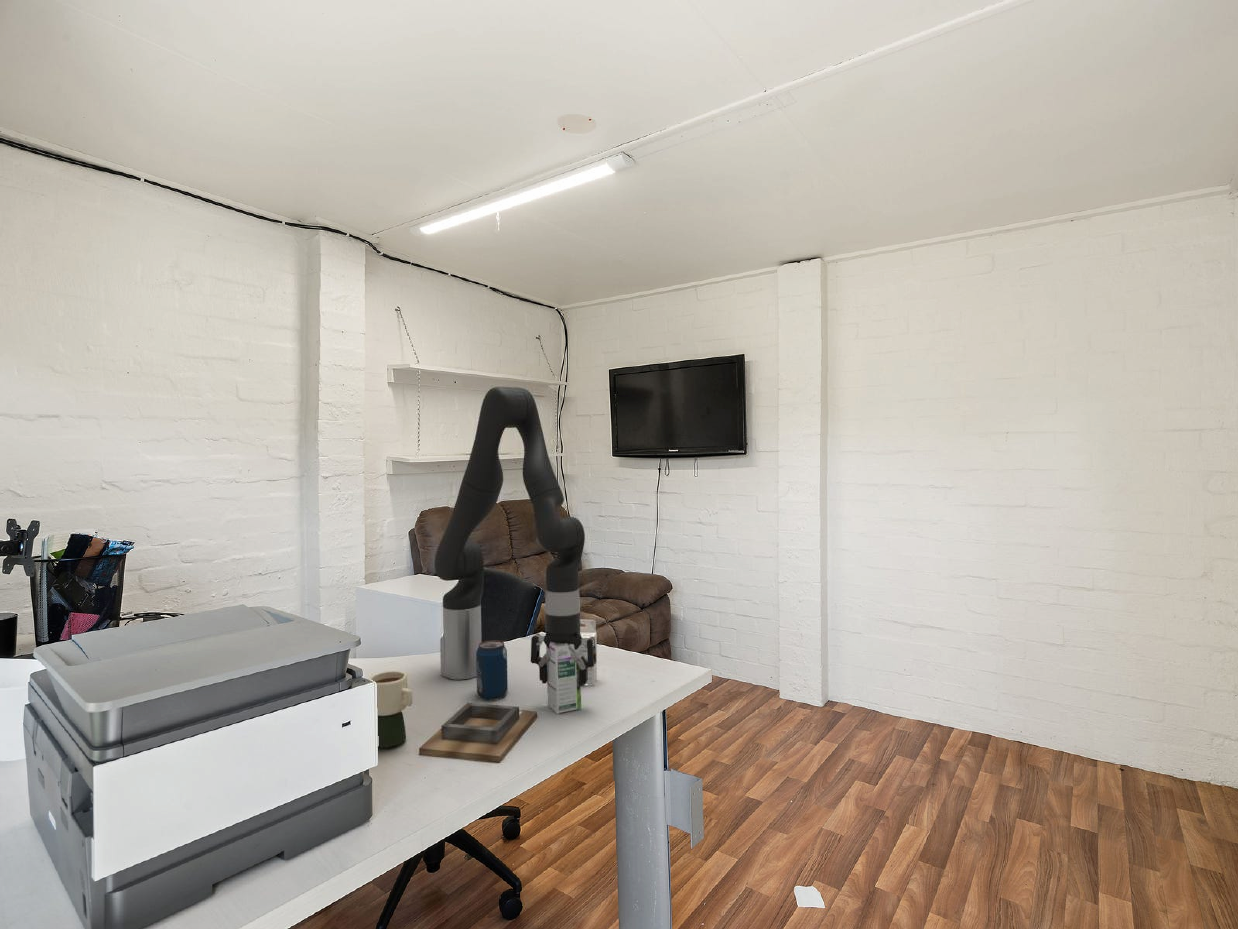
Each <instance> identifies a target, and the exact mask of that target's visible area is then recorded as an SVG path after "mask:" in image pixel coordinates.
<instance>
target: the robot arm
mask: <svg viewBox="0 0 1238 929" xmlns="http://www.w3.org/2000/svg"><path fill="white" fill-rule="evenodd" d="M478 416H479V417H478V422H477V428H476V432H475V435H474V441H473V445H472V447H471V453H470V455H469V459H468V461H467V462H468V463H467V465H466V467H465V471H464V474H463V477H462V480H461V484H460V486H459V490H458V494H457V498H456V501H455V504H454V506H453V509H452V513H451V515H450V518H449V521H448V523H447V526H446V528H445V530H444V533H443V534H442V537H441V539H440V542H439V544H438V546H437V549H436V551H435V556H434V570H435V574H436V576H437V577H438V578H439V579H440V580H442V581H446V582H447V581H448V582H449V581H457V580H458V581H457V583H456V584H455V585H454V586H453V587H452V588H451V589H450V590H449V591H448V592H445V594H443V596H442V621H443V622H442V623H443V624H442V625H443V626H442V627H443V629H442V630H443V632H442V633H443V636H441V637H440V639H439V646H440V647H439V649H440V650H439V652H440V655H439V656H440V676H441V677H445V678H446V679H449V680H454V681H455V680H460V681H461V680H469V679H473V678H477V676H476V652H477V649H478V647H479V644H480V643H481V642H482V610H481V609H482V606H481V604H482V600H481V599H482V595H483V593H484V579H485V578H484V574H485V557H484V552H483V549H482V547H481V545H480V544H479V543H478V542H477V540H473V539H469V538H470V536H471V535H472V534H473V532H474V531H475V529H476V528H478V526H479V525H480V524H481V523H482V522H484V520H485V519H486V518H487V516H489V515H490V513H491V512H492V511H493V509H494V508H495V506H496V505H497V502H498V499H499V497H500V493H501V490H502V488H503V485H504V471H503V468H502V463H501V460H500V457H499V448H500V445H501V444H500V443H501V440H502V436H503V433H504V432H505V430H506V429H513V428H514V429H516V430H517V432H518V433H519V436H520V438H521V440H522V443H523V453H524V454H523V462H522V480H523V484H524V487H525V490H526V493H527V495H528V497H529V500H530V502H531V505H532V507H533V517H534V518H533V519H534V525H535V532H536V537H537V541H538V542H539V544H540V546H541V547H542V548H543V549H544V550H545V551H546V552H549V553H557V554H556V557H555V559H554V560H552V561H551V562H550V563H549V564H548V565H547V566H546V567H545V568H546V569H545V600H544V604H545V605H544V606H545V607H544V608H545V609H544V610H545V611H544V612H545V613H544V615H545V616H544V618H545V619H544V620H545V635H541V634H540V633H538V632H537V633H535V634H534V635H533V636H532V637H531V640H530V642H531V643H530V663H531V664H533V665H534V664H535V665H537V666H538V670H539V671H538V672H539V675H538V677H539V681H541V684H546V685H547V660H548V659H549V658H550V656H551V652H550V651H551V646H552V645H551V646H550V642H554V643H553V644H557V643H565V644H564V645H568V649H569V650H570V652H572V653H571V657H572V659H573V660H574V661H575V662H576V663H577V664H578V665H579V667H580V668H581V669H580V670H579V683H580V686H581V687H584V685H585V684H586V682H587V680H588V668H589V667H593V666H594V664H595V663H596V647H595V638H594V637H590V638H582V637H581V634H580V627H581V623H580V619H581V599H580V598H581V597H580V589H579V580H580V579H579V568H580V564H581V560H582V556H583V552H584V547H585V542H586V541H585V540H586V534H585V529H584V526H583V524H582V522H581V521H580V520H579V519H578V518H576V517H573V516H566V517H559V514H558V509H560V507H561V506H562V505H563V504H564V502H565V498H564V497H565V496H564V493H563V490H562V488H561V487H560V484H559V481H558V479H557V477H556V474H555V471H554V469H553V467H552V464H551V461H550V457H549V453H548V450H547V445H546V441H545V440H546V439H545V436H544V432H543V427H542V423H541V420H540V415H539V411H538V407H537V404H536V401H535V398H534V396H533V394H532V392H530V391H529V389H526V388H524V387H515V386H494V387H491V388H490V389H489V390H488V391H487V392H486V394H485V395H484V398H483V400H482V402H481V406H480V411H479V415H478ZM543 643H544V644H545V645H546V646H547V647H548V651H547V652H546V651H545V653H544V655H543V656H542V657H541V655H540V654H541V653H540V651H541V646H542V644H543ZM569 644H573V645H574V649H575V650H577V649H578V648H579V646H580V645H581V644H584V647H585V648H586V649H587V654H588V660H586V658H585V657H584V655H583V653H582V651H581V650H580V655H577V654H576V652H575V651H574V649H573V648H572V647H571V646H570V645H569ZM546 646H545V647H546Z"/></svg>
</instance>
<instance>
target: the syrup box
mask: <svg viewBox="0 0 1238 929" xmlns="http://www.w3.org/2000/svg"><path fill="white" fill-rule="evenodd" d="M553 643H554V642H550V646H551V645H552V646H551V651H550V652H551V656H550V658H549V659H548V660H547V683H546V686H547V688H546V689H547V690H546V691H547V705H548V707H549V708H550V709H551V708H552V709H551V710H552V711H553V712H554V713H555V714H557V715H559V714H562V713H565V712H571V711H575V710H581V709H582V693H581V691H582V690H581V687H582V686H580V683H579V670H580V667H579V665H578V664H577V663H576V662H575V661H574V660H573V659H572V657H571V653H572V652H570V650H569V649H568V645H564V644H565V643H557V644H553ZM569 645H570V646H571V647H572V648H573V649H574V645H573V644H569ZM545 647H546V651H545V653H546V652H547V651H548V647H547V646H545ZM574 651H575V652H576V654H577V655H580V646H579V648H578V649H577V650H575V649H574Z"/></svg>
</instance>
